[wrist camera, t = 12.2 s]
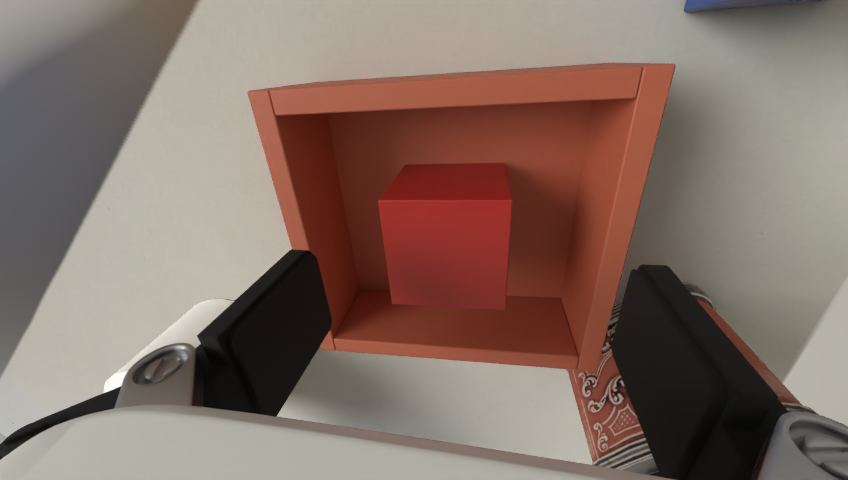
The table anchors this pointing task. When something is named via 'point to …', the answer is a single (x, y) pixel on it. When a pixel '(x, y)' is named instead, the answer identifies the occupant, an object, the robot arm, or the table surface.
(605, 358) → the lighter
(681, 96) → the table surface
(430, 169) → the red block
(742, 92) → the table surface
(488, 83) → the terracotta bin
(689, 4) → the blue block
